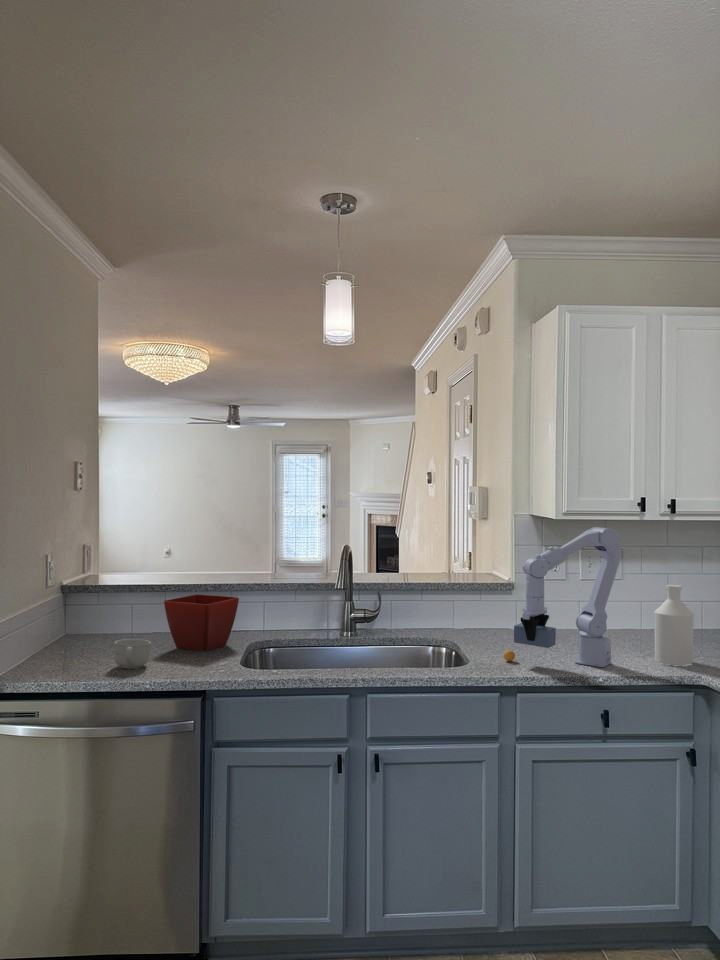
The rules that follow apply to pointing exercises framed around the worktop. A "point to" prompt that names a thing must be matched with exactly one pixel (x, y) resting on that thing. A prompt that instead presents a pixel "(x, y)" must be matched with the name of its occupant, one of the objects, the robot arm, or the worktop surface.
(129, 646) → the teacup
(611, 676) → the worktop surface
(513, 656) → the ball
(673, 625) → the bottle
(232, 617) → the plant pot
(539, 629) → the slate blue block
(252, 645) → the worktop surface
